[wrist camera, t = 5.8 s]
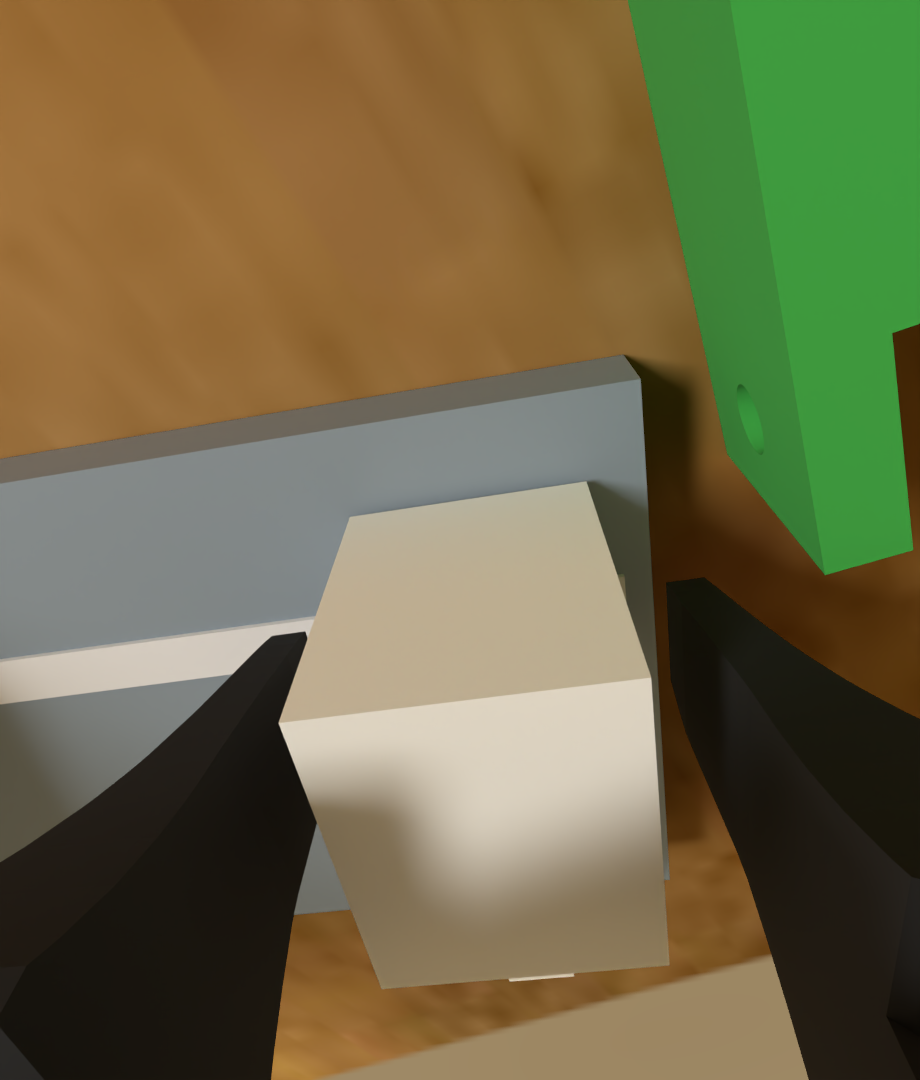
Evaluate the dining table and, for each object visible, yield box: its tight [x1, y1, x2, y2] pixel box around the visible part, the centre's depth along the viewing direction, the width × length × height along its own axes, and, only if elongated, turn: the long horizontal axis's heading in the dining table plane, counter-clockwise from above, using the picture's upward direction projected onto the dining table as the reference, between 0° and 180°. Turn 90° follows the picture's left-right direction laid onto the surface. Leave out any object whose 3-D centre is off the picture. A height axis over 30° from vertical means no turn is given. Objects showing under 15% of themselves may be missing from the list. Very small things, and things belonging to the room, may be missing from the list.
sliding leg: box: [279, 481, 670, 989], centre depth 12 cm, size 4×9×5 cm, turn 10°
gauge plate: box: [0, 355, 670, 915], centre depth 13 cm, size 20×12×7 cm, turn 100°
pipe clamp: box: [628, 0, 920, 575], centre depth 9 cm, size 11×4×5 cm, turn 21°
